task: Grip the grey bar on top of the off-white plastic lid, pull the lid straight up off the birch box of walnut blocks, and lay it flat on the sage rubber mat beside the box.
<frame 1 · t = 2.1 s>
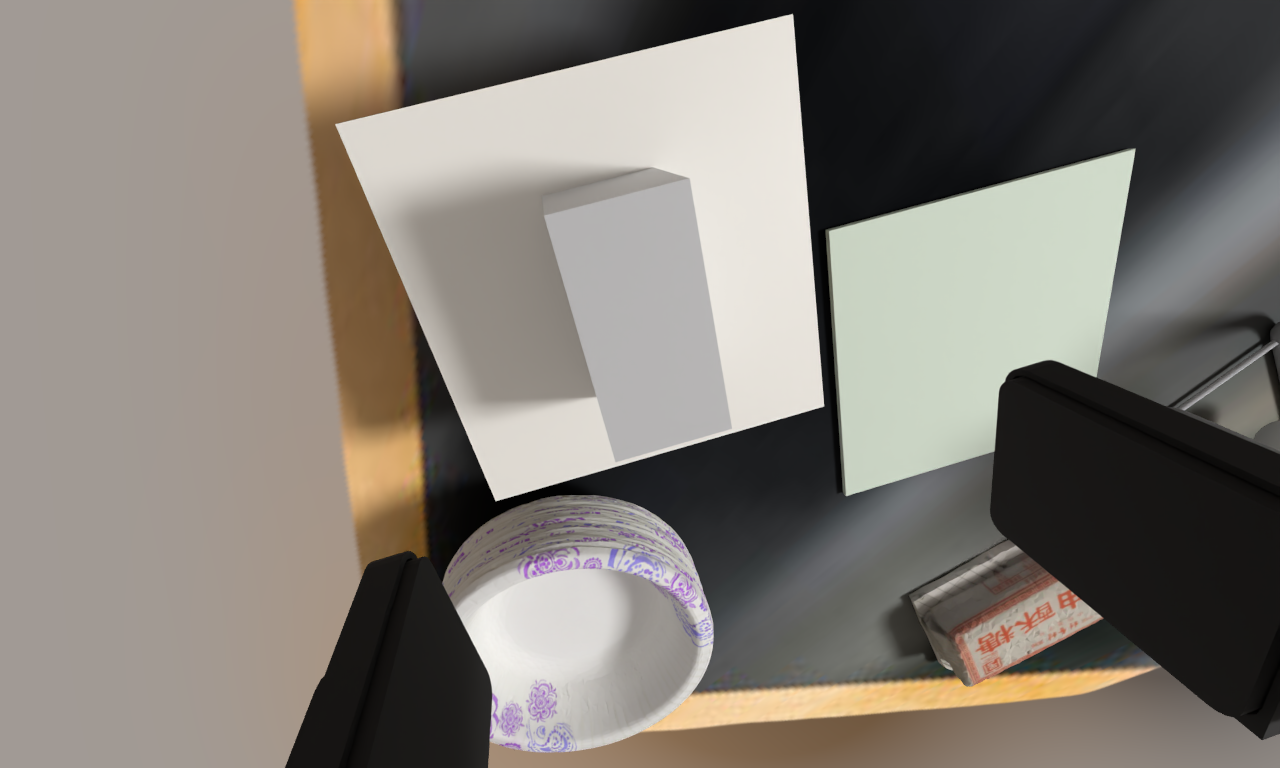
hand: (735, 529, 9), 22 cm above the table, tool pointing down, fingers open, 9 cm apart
mat: (971, 337, 34), on the table
paper bowls: (568, 559, 36), on the table
lid: (615, 275, 23), point 5 cm above the table, touching box
newton's cradle: (1240, 478, 45), on the table
packaged product: (1014, 571, 45), on the table
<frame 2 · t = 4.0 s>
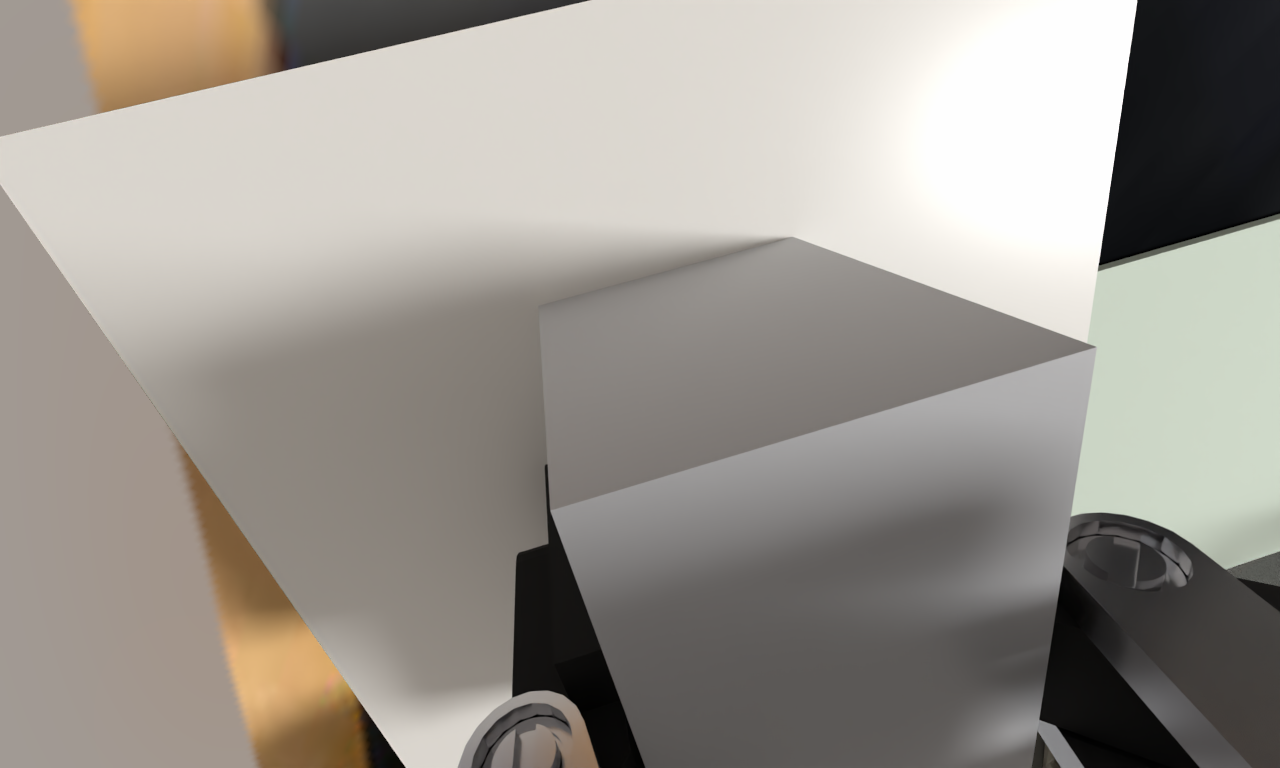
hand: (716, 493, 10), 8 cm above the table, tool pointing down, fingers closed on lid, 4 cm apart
mat: (1164, 442, 23), on the table
lid: (677, 420, 12), point 5 cm above the table, touching box, gripper
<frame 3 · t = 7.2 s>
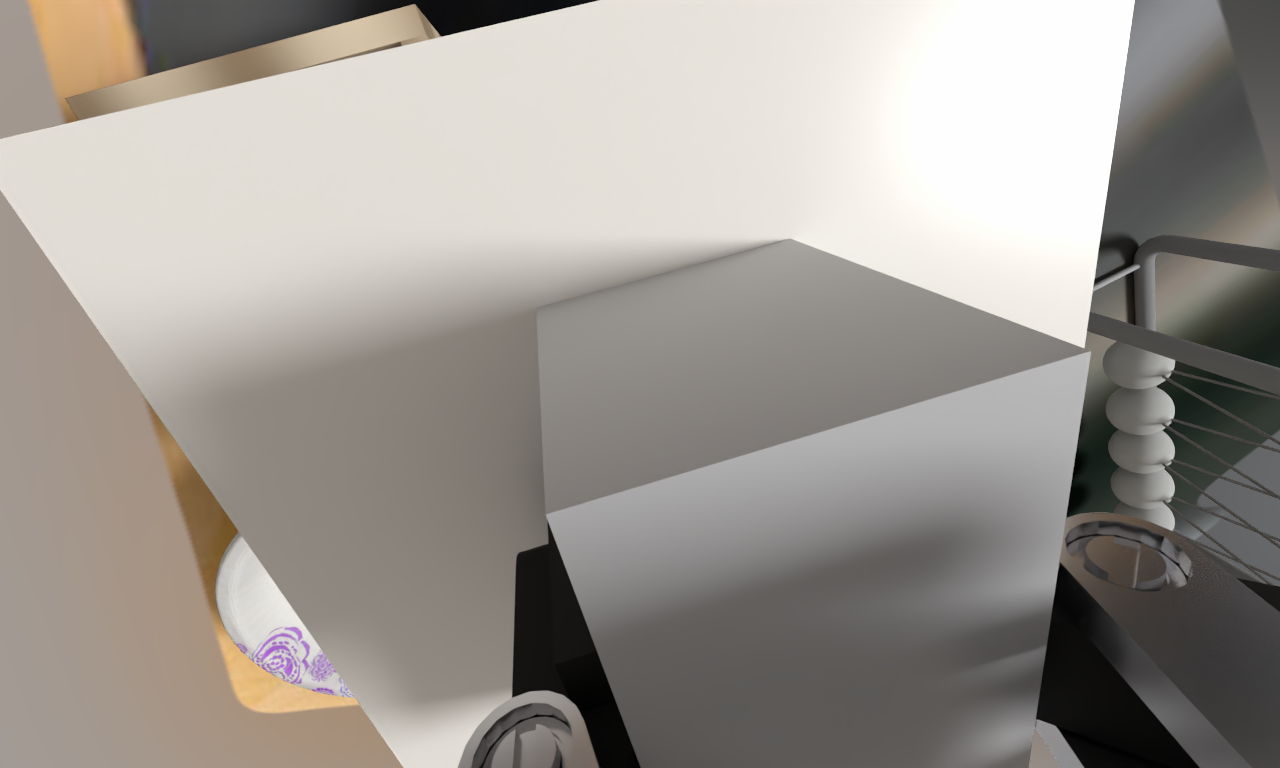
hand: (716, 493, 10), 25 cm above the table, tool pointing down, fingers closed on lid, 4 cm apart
paper bowls: (400, 517, 37), on the table
lid: (675, 421, 12), point 22 cm above the table, touching gripper
newton's cradle: (1087, 422, 46), on the table
box: (372, 207, 29), on the table
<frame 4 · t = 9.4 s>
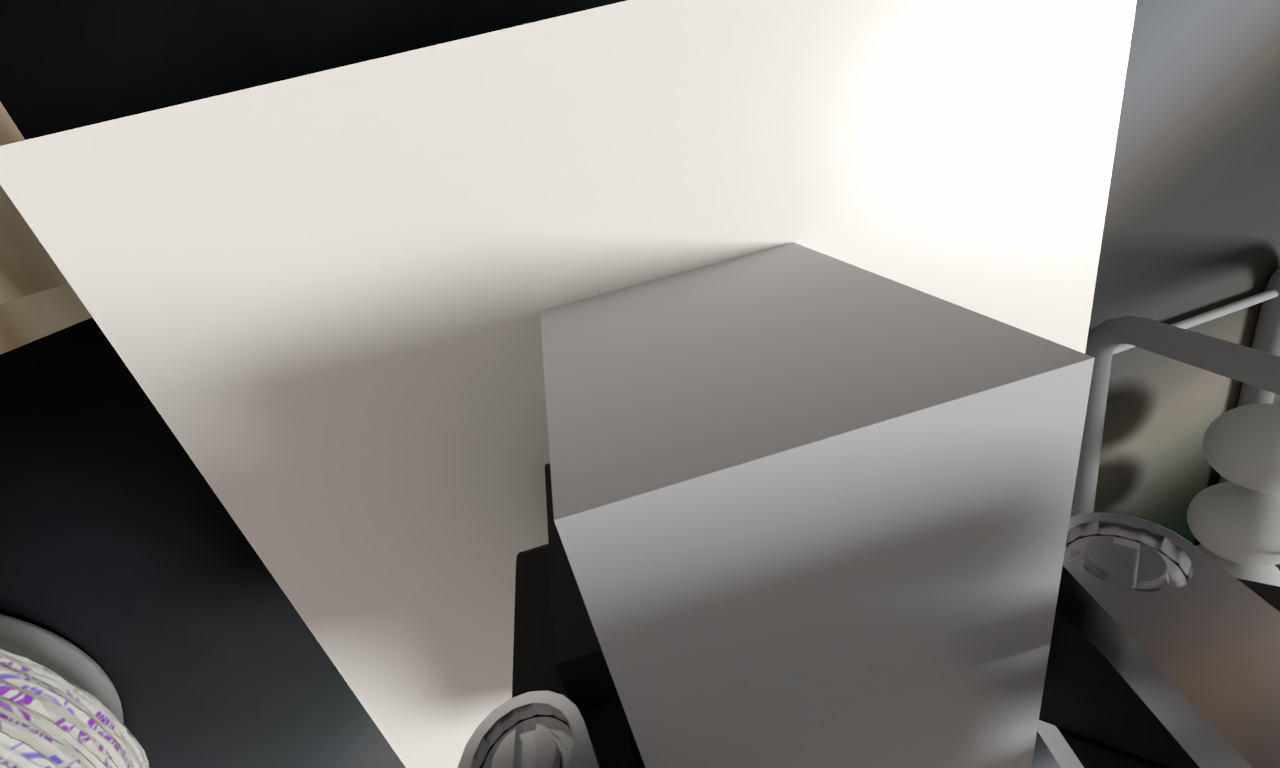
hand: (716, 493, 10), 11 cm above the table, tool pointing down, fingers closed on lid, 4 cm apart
lid: (678, 423, 12), point 9 cm above the table, touching gripper
newton's cradle: (1137, 524, 31), on the table
when the fingers open (5 cm above the table, at t = 10.9 s): lid drops 1 cm, resting on mat.
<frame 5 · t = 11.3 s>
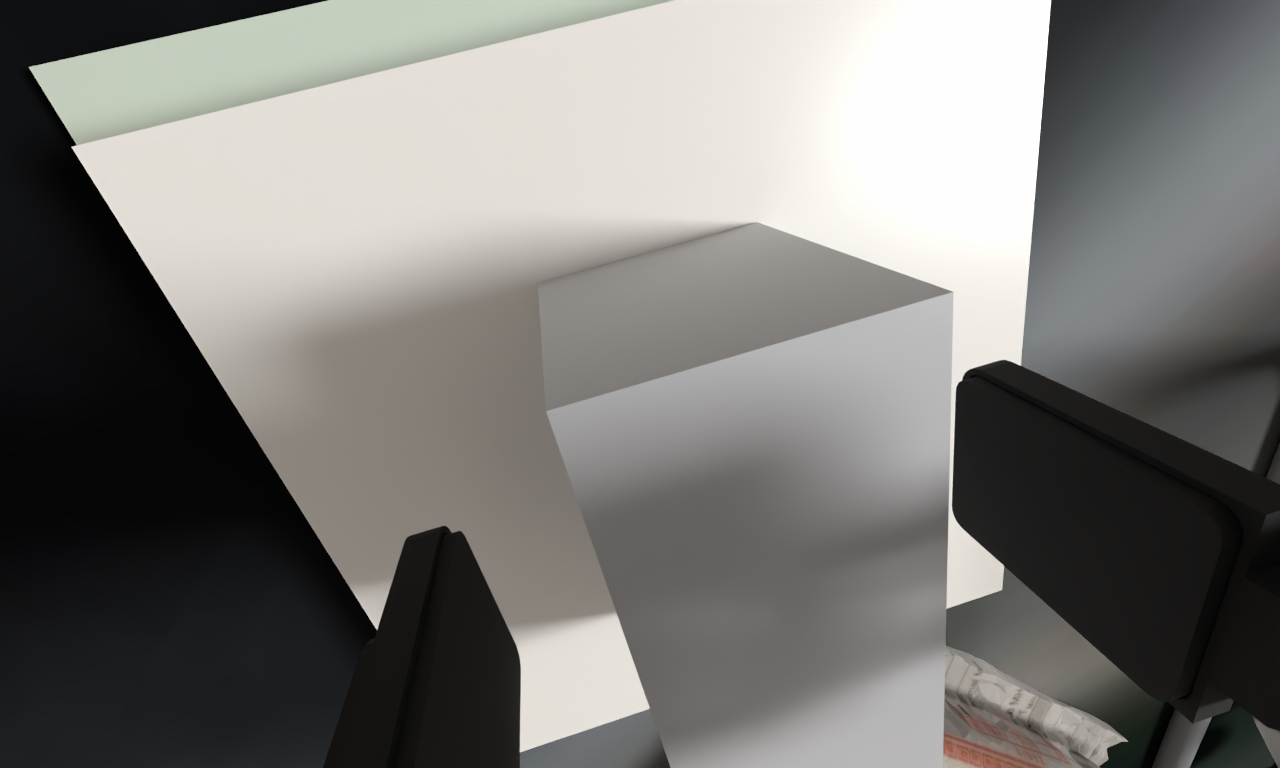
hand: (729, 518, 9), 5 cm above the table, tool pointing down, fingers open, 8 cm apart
mat: (659, 386, 14), on the table
lid: (664, 392, 14), resting on mat
packaged product: (906, 733, 23), on the table
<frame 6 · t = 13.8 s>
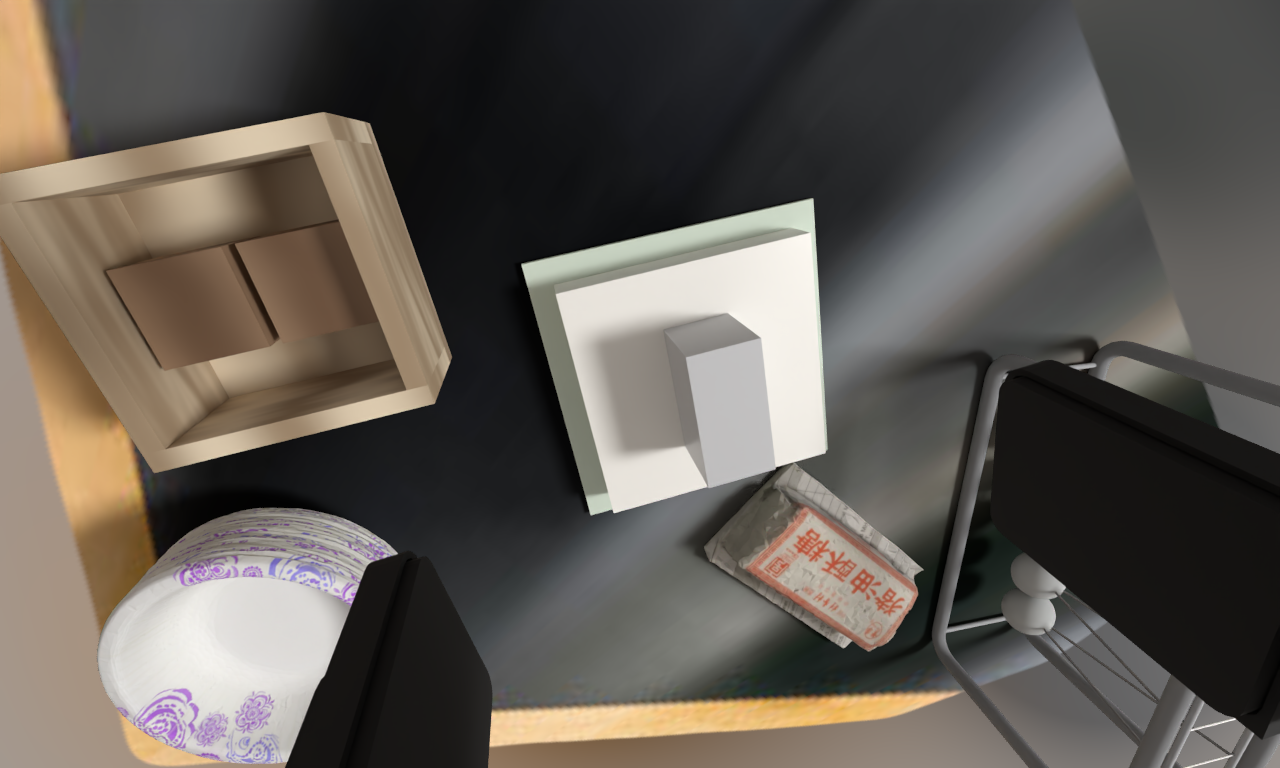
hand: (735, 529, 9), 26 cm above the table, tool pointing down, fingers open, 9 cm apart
mat: (692, 366, 37), on the table
paper bowls: (312, 573, 37), on the table
lid: (694, 368, 36), resting on mat
newton's cradle: (1005, 504, 47), on the table
box: (294, 276, 30), on the table
packaged product: (811, 551, 46), on the table
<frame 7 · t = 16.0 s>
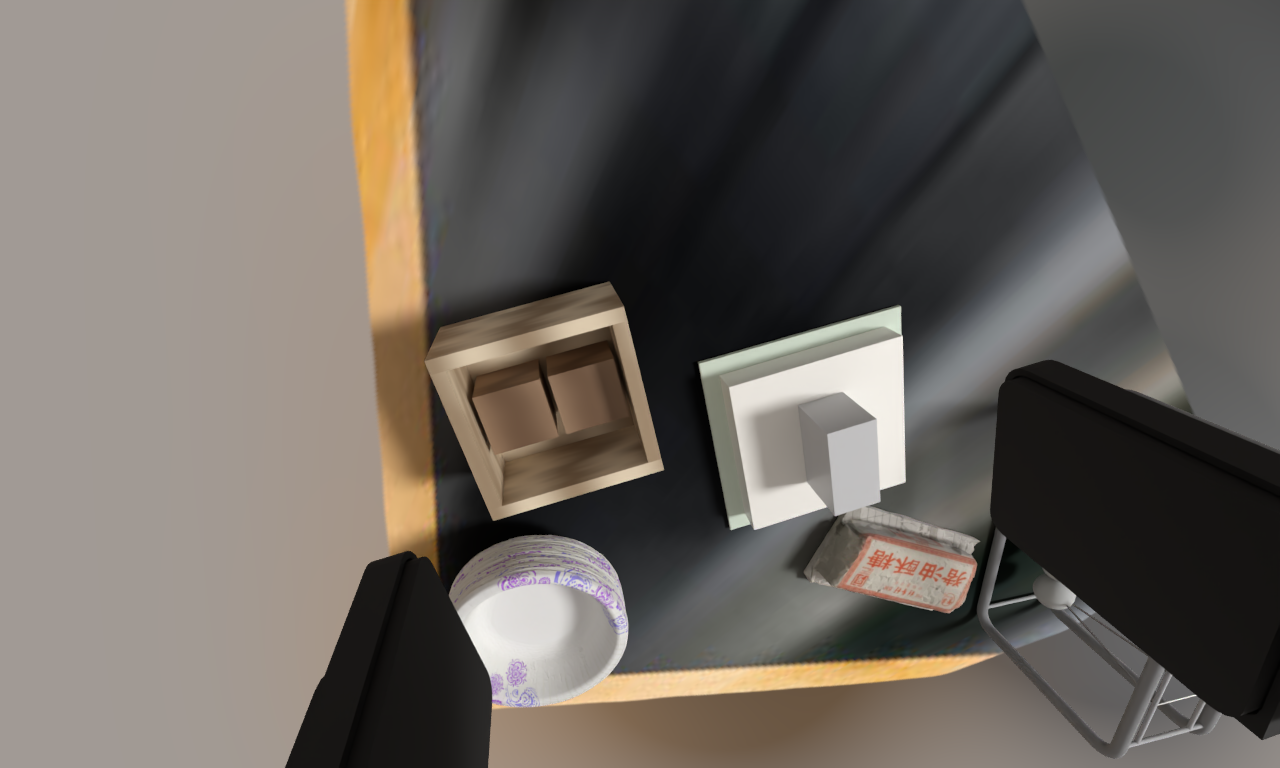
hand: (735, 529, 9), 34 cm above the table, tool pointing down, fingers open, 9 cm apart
mat: (808, 423, 50), on the table
paper bowls: (536, 576, 52), on the table
lid: (810, 425, 50), resting on mat
newton's cradle: (1035, 510, 61), on the table
box: (550, 380, 44), on the table
packaged product: (886, 550, 60), on the table
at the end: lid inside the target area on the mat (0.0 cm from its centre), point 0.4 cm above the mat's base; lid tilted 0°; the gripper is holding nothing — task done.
